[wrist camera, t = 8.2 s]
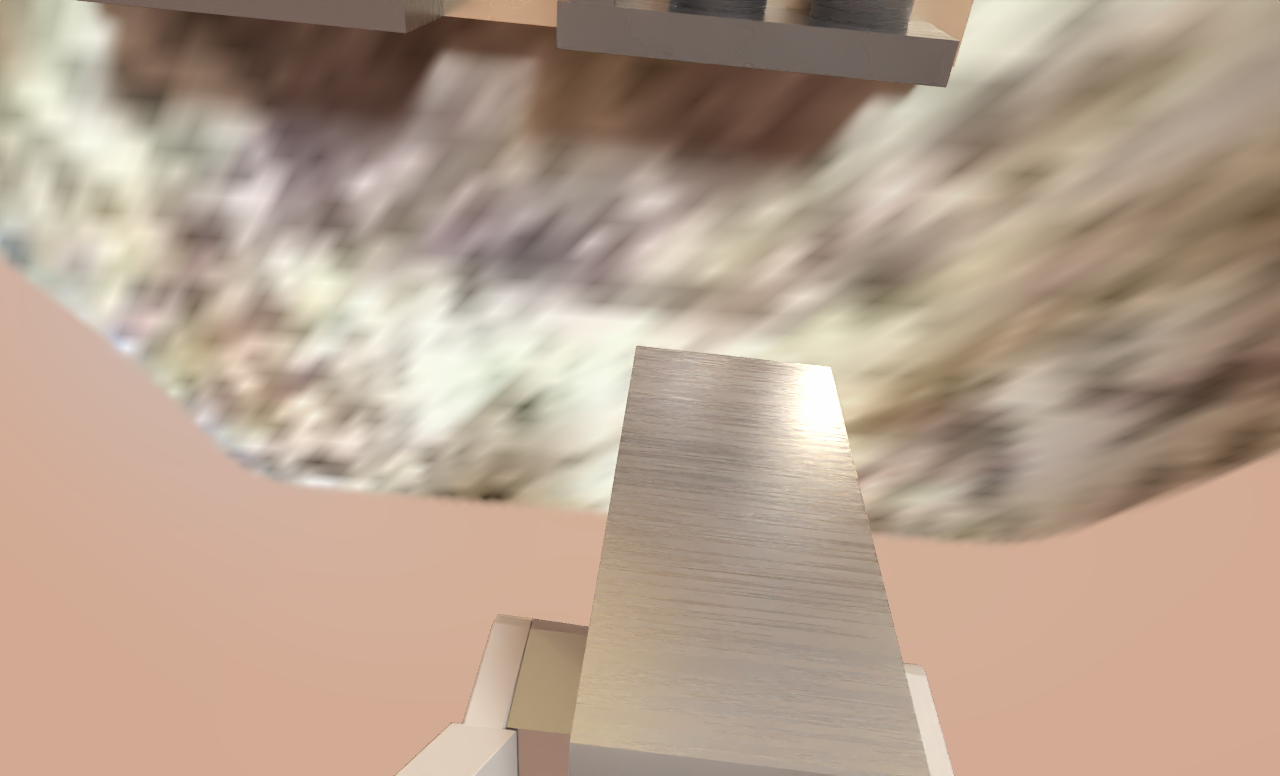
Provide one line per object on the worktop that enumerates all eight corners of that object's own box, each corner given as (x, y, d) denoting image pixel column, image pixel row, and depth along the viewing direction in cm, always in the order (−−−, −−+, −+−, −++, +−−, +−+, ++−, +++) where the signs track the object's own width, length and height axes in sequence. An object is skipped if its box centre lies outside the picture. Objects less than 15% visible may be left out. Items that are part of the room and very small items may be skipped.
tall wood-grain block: (830, 367, 11) (933, 785, 6) (750, 665, 15) (770, 1066, 10) (636, 346, 11) (570, 742, 6) (609, 648, 15) (556, 1038, 10)
